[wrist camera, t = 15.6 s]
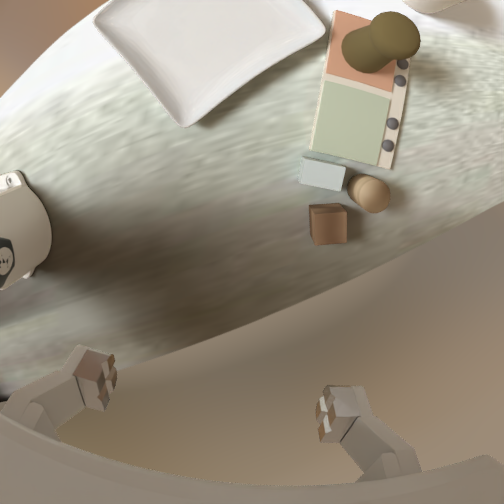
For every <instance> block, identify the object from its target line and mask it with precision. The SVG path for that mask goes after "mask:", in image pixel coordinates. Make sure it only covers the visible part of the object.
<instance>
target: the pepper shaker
mask: <svg viewBox="0 0 504 504" xmlns="http://www.w3.org/2000/svg"><path fill="white" fill-rule="evenodd" d="M420 42H421V40H420V34H419V31H418V29H417V27H416V25H415V24H414V23H413V22H412V21H411V20H410V19H409V18H408V17H406V16H405V15H402V14H400V13H398V12H392V11H390V12H383V13H380V14H379V15H377V16H376V17H374V19H373V20H372V22H371V23H370V25H368V26H365V27H362V28H359V29H356V30H353V31H351V32H349V33H348V34H346V36H345V37H344V39H343V41H342V45H341V49H342V54H343V56H344V59H345V61H346V62H347V63H348V64H349V65H350V66H351V67H352V68H354V69H355V70H356V71H359V72H362V73H370V74H371V73H375V72H378V71H379V70H380V69H382V68H383V67H384V66H386V65H387V64H388V63H390V62H391V61H392V60H403V59H408V58H410V57H412V56H413V55H415V54H416V52H417V51H418V49H419V47H420Z"/></svg>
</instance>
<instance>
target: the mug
mask: <svg viewBox="0 0 504 504" xmlns="http://www.w3.org/2000/svg"><path fill="white" fill-rule="evenodd" d="M402 1H403V2H404V3H405V4H406V5H408V6H409V7H410V8H412V9H414V10H416V11H418V12H421V13H426V14H431V13H436V12H439V11H442V10H444V9H446V8H449V7H451V6H453V5H456V4H458V3H461V2H463V1H466V0H402Z"/></svg>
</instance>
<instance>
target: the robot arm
mask: <svg viewBox="0 0 504 504" xmlns="http://www.w3.org/2000/svg"><path fill="white" fill-rule="evenodd" d="M11 179H12V181H11ZM51 239H52V235H51V226H50V222H49V218H48V215H47V213H46V210H45V208H44V206H43V204H42V203H41V201H40V200H39V198H38V197H37V196H36V195H35V194H34V193H33V192H32V191H31V190H30V189H29V187H28V186H27V184H26V182H25V180H24V178H23V176H22V174H21V173H20V172H19V171H12V172H8V173H4V174H1V175H0V289H1V290H4V289H6V288H7V287H9V286H10V285H11V284H13V283H14V282H16V281H17V280H18V279H20V278H21V277H23V278H28V277H30V276H31V275H32V273H33V271H34V269H35V267H36V266H37V265H38V264H40V263H41V262H43V261H44V260H45V258H46V257H47V255H48V253H49V251H50V247H51ZM114 362H115V358H114V355H113V354H110V353H106V352H103V351H100V350H96V349H93V348H89V347H86V346H82V345H77V346H76V347H75V349H74V350H73V352H72V353H71V355H70V356H69V358H68V360H67V361H66V363H65V364H64V366H63V368H62V369H61V371H55V372H53V373H51V374H49V375H47V376H45V377H43V378H41V379H39V380H37V381H35V382H32V383H30V384H28V385H26V386H24V387H22V388H20V389H18V390H16V391H14V392H13V393H12V395H11V396H10V398H9V399H8V401H7V403H6V404H5V406H4V407H3V409H2V411H1V412H0V504H504V465H503V464H502V463H500V462H499V461H497V460H496V459H495V458H493V457H491V456H489V455H482V456H478V457H475V458H472V459H469V460H465V461H462V462H459V463H455V464H452V465H448V466H444V467H441V468H437V469H433V470H428V471H424V472H422V470H421V467H420V464H419V461H418V458H417V455H416V452H415V449H414V448H413V447H412V446H410V445H409V444H408V443H407V442H406V441H405V440H404V439H402V438H401V437H400V436H399V435H398V434H397V433H395V432H394V431H393V430H392V429H391V428H390V427H388V426H387V425H386V424H385V423H384V422H383V421H382V420H380V419H379V418H378V417H377V416H373V413H372V410H371V407H370V404H369V401H368V398H367V395H366V392H365V389H364V387H363V386H340V385H338V386H336V385H327V386H326V387H325V388H324V390H323V395H324V396H322V397H321V398H319V401H318V403H317V406H316V420H317V421H318V422H319V423H320V424H321V425H320V426H319V428H318V432H319V439H320V442H329V443H333V442H336V443H340V444H341V446H342V447H343V448H344V449H345V450H346V452H347V453H348V454H349V455H350V456H351V458H352V459H353V460H354V461H355V463H356V464H357V465H358V466H359V467H360V469H361V470H362V471H363V472H364V474H363V475H362V476H361V477H360V478H359V479H358V480H357V481H356V482H355V483H346V484H333V485H316V486H315V485H314V486H271V485H269V486H268V485H251V484H237V483H228V482H218V481H210V480H203V479H196V478H189V477H184V476H178V475H173V474H168V473H163V472H158V471H153V470H149V469H145V468H141V467H137V466H133V465H129V464H125V463H122V462H118V461H115V460H111V459H108V458H104V457H102V456H98V455H95V454H93V453H89V452H87V451H84V450H80V449H78V448H75V447H73V446H70V445H67V444H65V443H62V442H61V440H60V438H59V436H58V434H57V433H56V431H55V429H57V428H58V427H59V426H61V425H62V424H63V423H65V422H66V421H68V420H69V419H70V418H72V417H73V416H75V415H76V414H77V413H79V412H80V411H81V410H83V409H84V408H85V407H89V408H92V409H96V410H100V411H103V412H105V410H106V407H107V405H108V403H109V400H110V399H109V393H111V392H113V391H114V388H115V386H116V381H117V370H116V368H115V367H114V366H113V364H114Z"/></svg>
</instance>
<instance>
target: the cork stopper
mask: <svg viewBox="0 0 504 504" xmlns="http://www.w3.org/2000/svg"><path fill="white" fill-rule="evenodd" d="M347 191H348V195H349V197H350V198H351V199H352V200H353V201H354V202H355V203H357V204H358V205H359V206H361V207H362V208H363V209H365V210H366V211H368V212H370V213H379V212H381V211H383V210H384V209H385V208H386V207H387V206H388V204H389V202H390V190H389V188H388V186H387V185H386V184H385V183H384V182H382V181H380V180H378V179H376V178H374V177H371V176H369V175H367V174H357V175H355V176H353V177H352V178H351V179H350V181H349V183H348V187H347Z"/></svg>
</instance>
